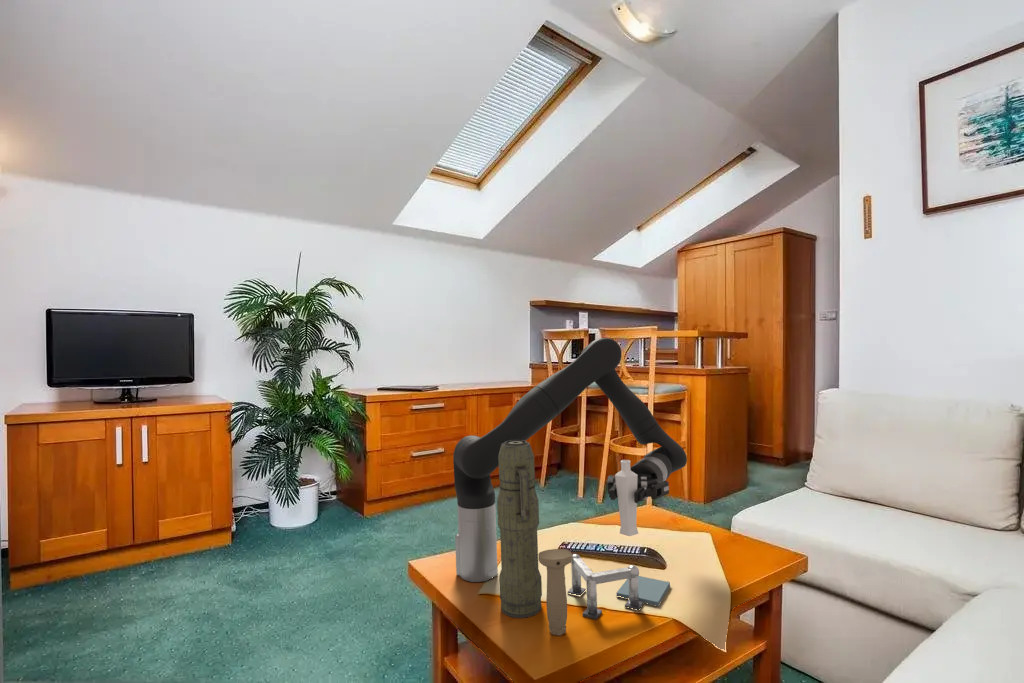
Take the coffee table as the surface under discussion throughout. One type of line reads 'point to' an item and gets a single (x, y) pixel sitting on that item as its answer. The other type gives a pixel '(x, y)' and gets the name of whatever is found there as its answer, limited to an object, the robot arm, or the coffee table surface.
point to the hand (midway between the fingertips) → (624, 496)
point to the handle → (556, 588)
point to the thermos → (518, 531)
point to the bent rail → (602, 577)
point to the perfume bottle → (627, 498)
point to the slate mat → (647, 590)
